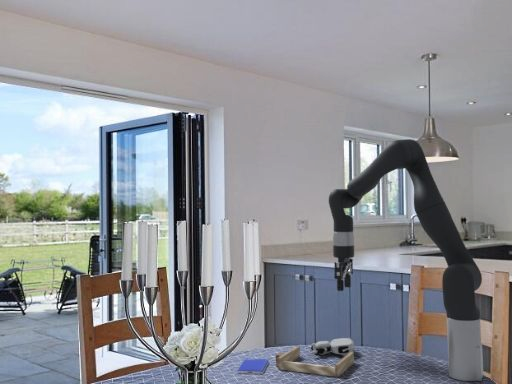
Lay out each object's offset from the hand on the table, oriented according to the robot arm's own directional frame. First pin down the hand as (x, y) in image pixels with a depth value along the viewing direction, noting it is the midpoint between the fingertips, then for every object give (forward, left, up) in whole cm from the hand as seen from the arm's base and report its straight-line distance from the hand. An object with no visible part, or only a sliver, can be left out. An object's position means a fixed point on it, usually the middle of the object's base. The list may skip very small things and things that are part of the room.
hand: (344, 288), depth 193 cm
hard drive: (+20, +34, -22) cm, 45 cm away
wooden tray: (+3, +25, -21) cm, 33 cm away
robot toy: (+2, +9, -21) cm, 23 cm away
